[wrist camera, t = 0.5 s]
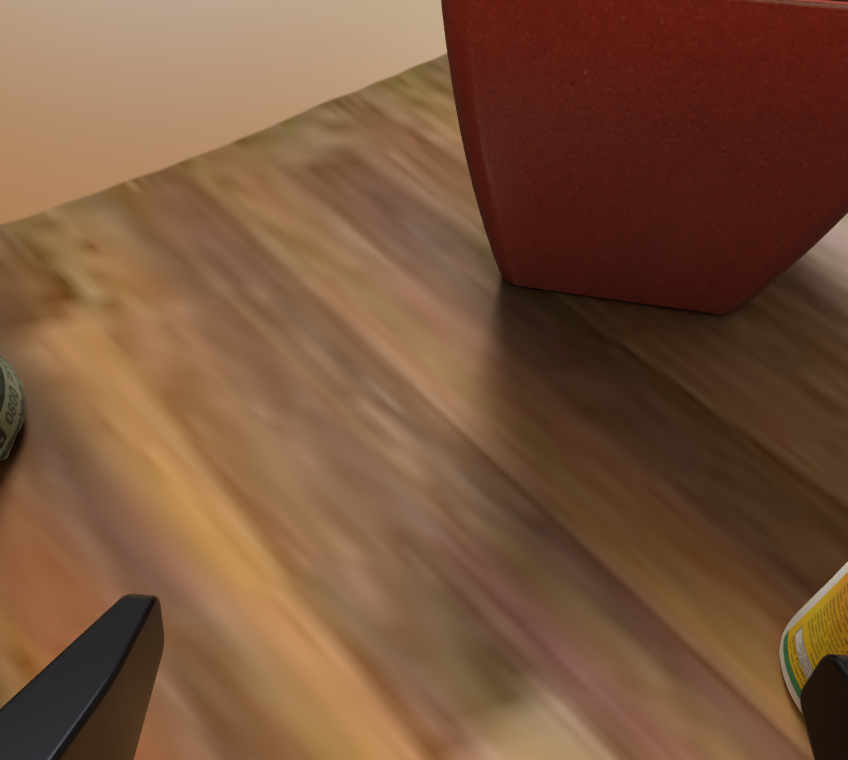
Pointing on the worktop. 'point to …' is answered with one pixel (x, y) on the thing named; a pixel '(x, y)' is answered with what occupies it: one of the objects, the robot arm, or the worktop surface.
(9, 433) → the pouch
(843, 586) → the supplement bottle
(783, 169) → the plant pot
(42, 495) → the worktop surface
